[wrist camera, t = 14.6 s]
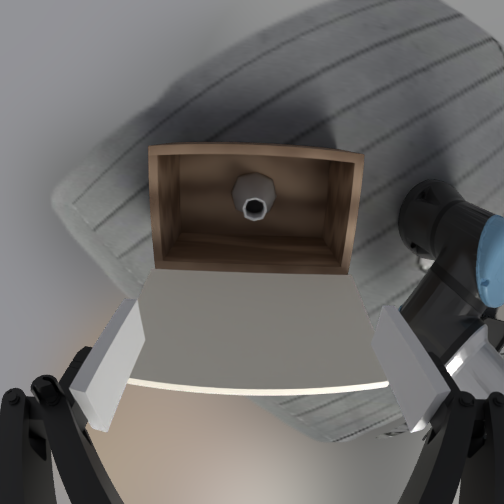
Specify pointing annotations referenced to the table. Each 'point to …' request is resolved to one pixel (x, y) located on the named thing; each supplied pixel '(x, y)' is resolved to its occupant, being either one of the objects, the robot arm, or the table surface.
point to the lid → (255, 334)
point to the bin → (233, 221)
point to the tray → (495, 332)
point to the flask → (254, 195)
